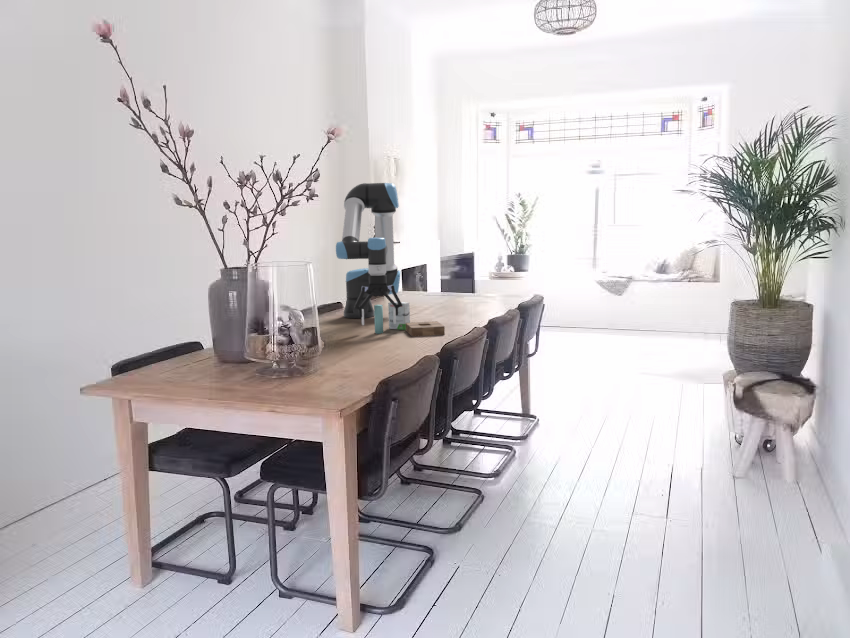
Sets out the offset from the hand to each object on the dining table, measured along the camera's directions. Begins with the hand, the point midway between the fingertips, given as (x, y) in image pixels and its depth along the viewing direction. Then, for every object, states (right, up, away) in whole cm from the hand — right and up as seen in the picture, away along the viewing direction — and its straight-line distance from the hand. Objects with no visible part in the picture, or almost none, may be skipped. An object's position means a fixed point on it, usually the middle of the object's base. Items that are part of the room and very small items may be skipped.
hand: (378, 324), depth 302 cm
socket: (+20, -4, 0) cm, 20 cm away
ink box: (+9, -2, +11) cm, 14 cm away
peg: (0, -4, +1) cm, 4 cm away
